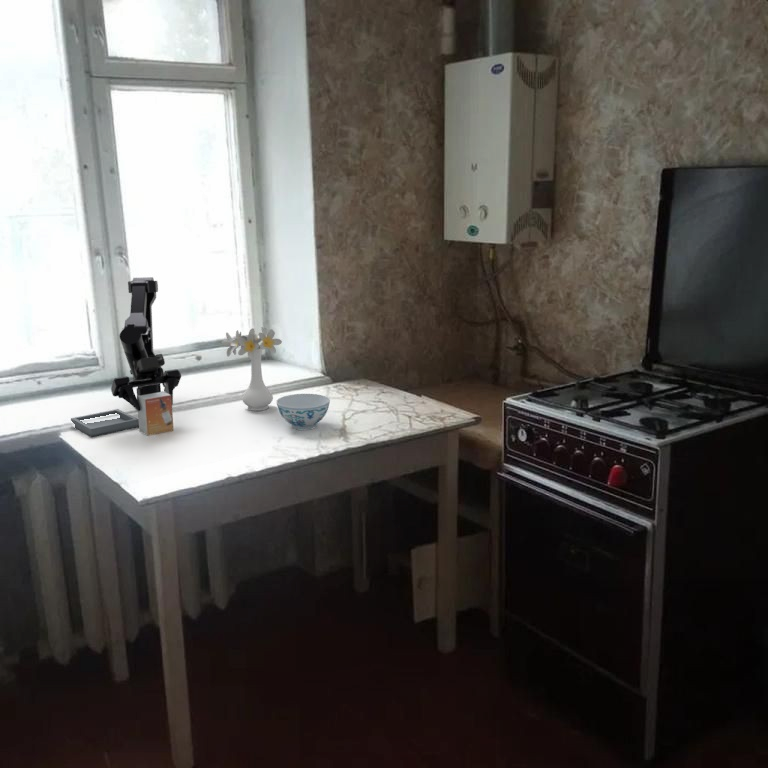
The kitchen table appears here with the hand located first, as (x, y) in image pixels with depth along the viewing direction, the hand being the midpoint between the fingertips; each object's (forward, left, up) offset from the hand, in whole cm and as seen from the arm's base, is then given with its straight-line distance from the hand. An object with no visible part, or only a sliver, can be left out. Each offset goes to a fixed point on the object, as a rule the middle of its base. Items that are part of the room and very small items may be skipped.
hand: (155, 407), depth 223 cm
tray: (+9, -14, -7) cm, 18 cm away
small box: (0, -1, -7) cm, 7 cm away
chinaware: (-33, +24, -7) cm, 41 cm away
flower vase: (-33, -1, -7) cm, 34 cm away
